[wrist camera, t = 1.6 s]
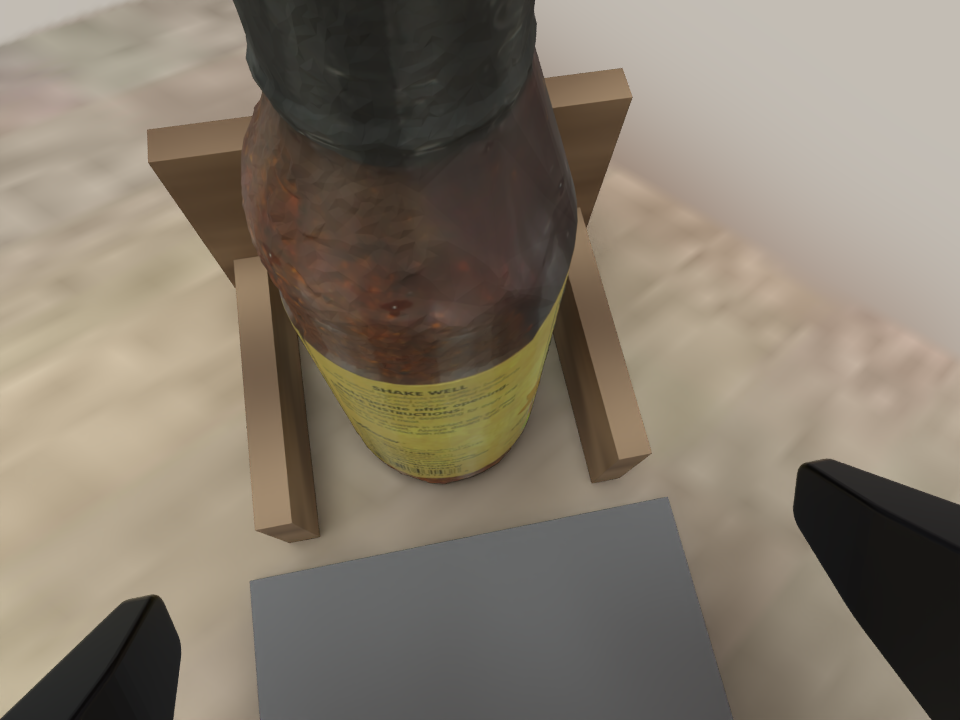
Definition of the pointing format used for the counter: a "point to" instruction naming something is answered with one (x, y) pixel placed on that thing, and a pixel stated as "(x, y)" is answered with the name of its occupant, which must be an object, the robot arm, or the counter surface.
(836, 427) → the counter surface
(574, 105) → the bottle rack
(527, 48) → the sauce bottle
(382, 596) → the charcoal mat
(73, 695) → the robot arm
